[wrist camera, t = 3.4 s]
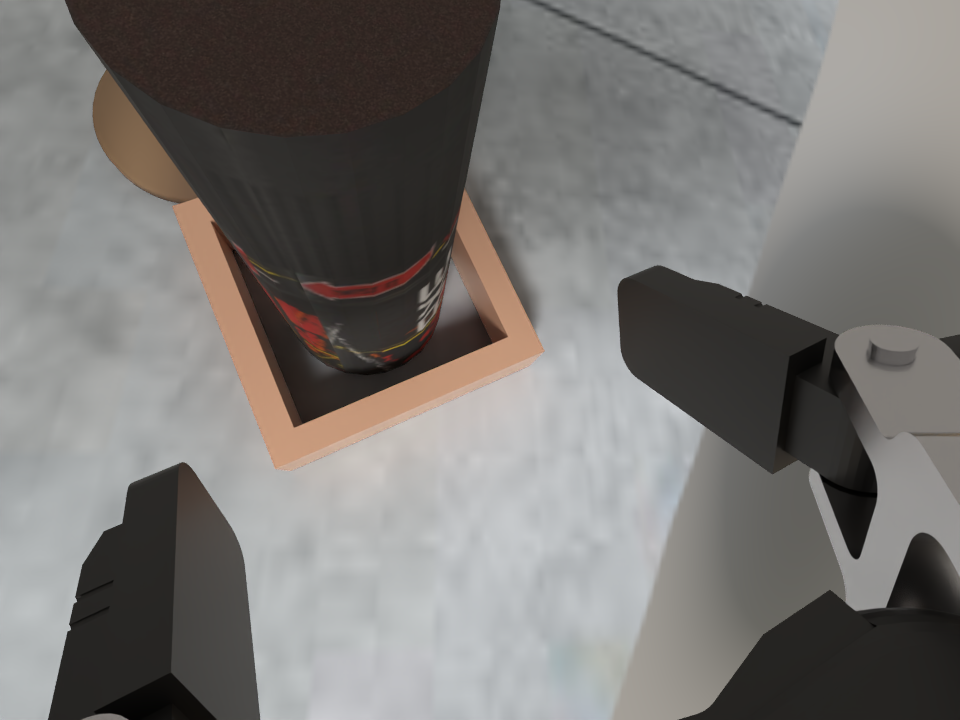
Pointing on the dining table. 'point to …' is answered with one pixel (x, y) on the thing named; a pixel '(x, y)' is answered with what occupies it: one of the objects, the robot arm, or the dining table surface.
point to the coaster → (135, 145)
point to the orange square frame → (380, 410)
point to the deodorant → (317, 146)
